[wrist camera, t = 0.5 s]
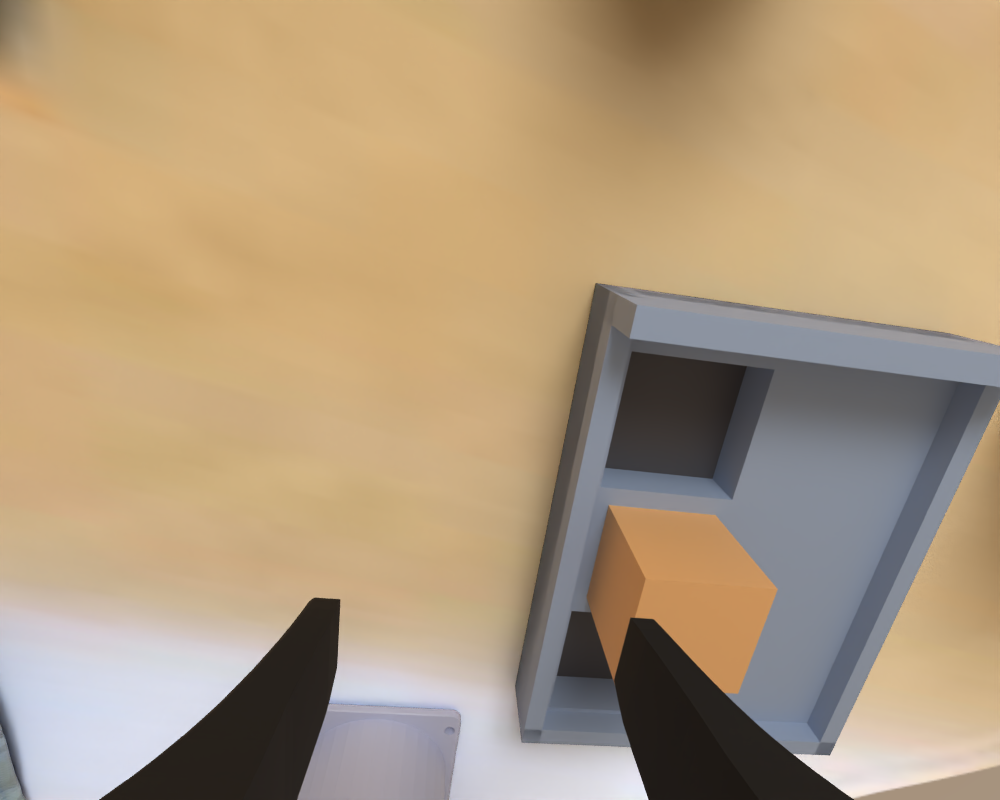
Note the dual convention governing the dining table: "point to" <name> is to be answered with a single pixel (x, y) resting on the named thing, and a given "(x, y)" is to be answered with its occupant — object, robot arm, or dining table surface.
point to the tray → (755, 491)
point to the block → (680, 588)
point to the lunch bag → (8, 774)
